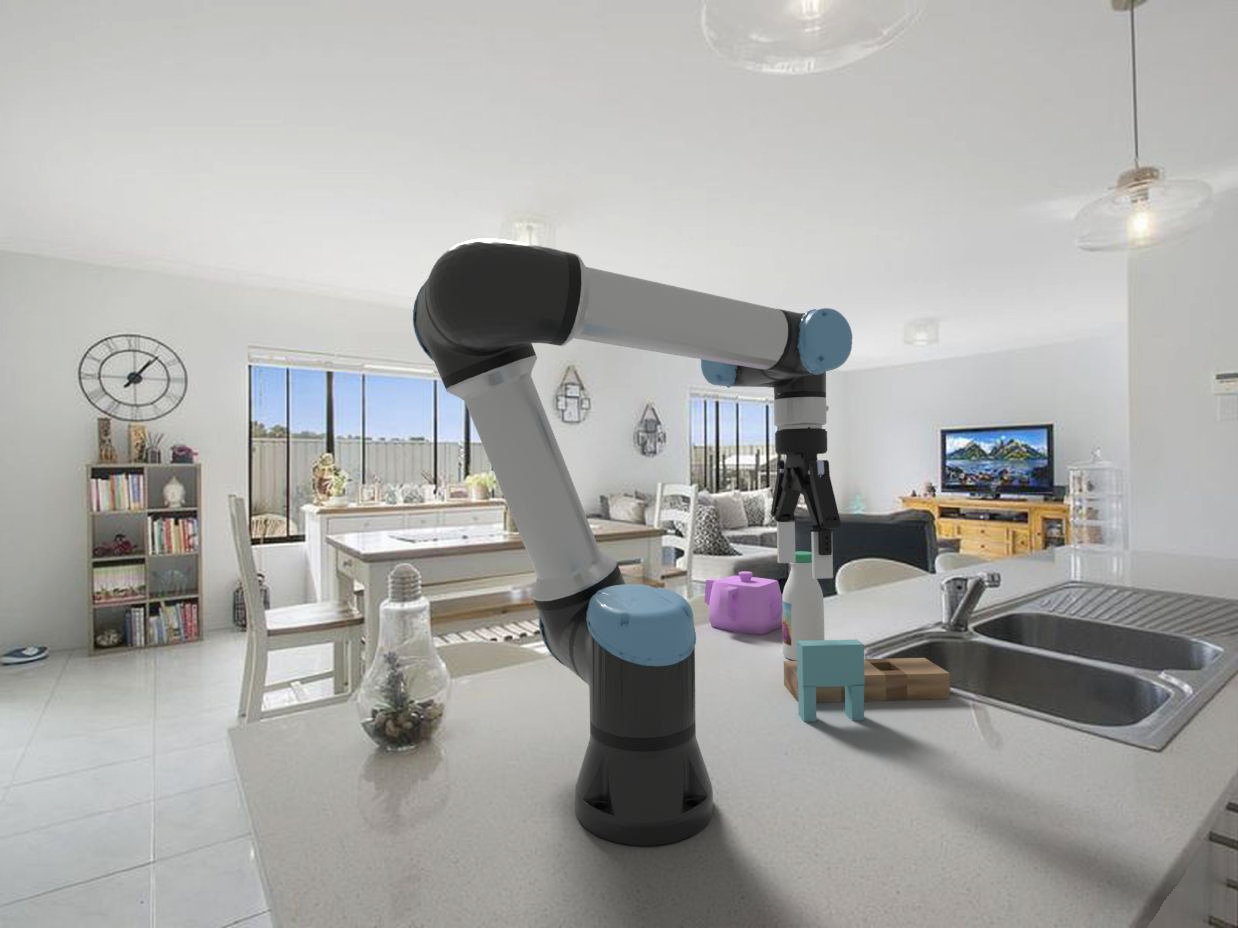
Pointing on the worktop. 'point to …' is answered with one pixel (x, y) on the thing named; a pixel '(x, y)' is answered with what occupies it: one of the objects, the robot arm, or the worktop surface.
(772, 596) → the teakettle
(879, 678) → the wooden slotted block
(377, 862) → the worktop surface
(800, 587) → the milk bottle
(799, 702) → the clip
